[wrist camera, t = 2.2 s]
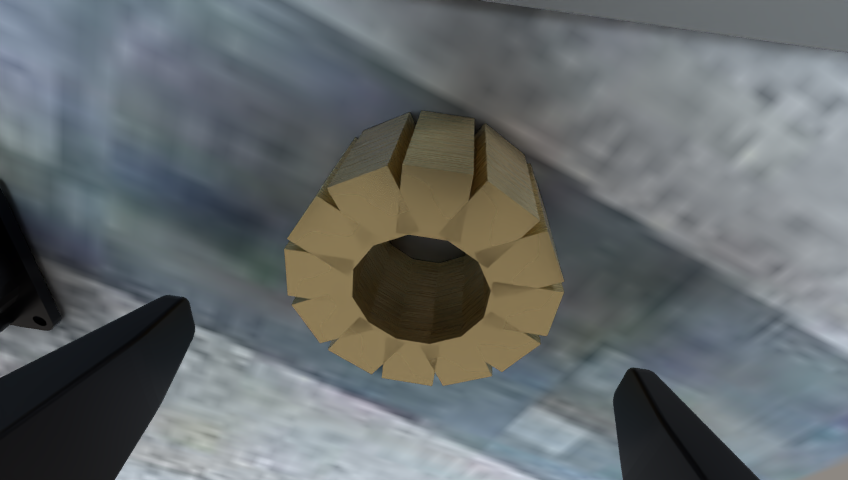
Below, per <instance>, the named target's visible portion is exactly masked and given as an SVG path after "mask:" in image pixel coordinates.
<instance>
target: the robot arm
mask: <svg viewBox="0 0 848 480" xmlns="http://www.w3.org/2000/svg"><path fill="white" fill-rule="evenodd" d="M60 321H61V315H60V313H59V311H58V309H57V307H56V305H55V303H54V301H53V298H52V296H51V294H50V292H49V290H48V288H47V286H46V284H45V281H44V279H43V277H42V275H41V273H40V271H39V269H38V267H37V264H36V262H35V260H34V258H33V256H32V254H31V252H30V249H29V247H28V245H27V243H26V241H25V239H24V237H23V235H22V232H21V230H20V228H19V226H18V224H17V222H16V220H15V218H14V215H13V213H12V211H11V209H10V207H9V205H8V203H7V201H6V198H5V196H4V194H3V192H2V190H1V189H0V332H1V331H3V330H4V329H5V328H6V327H8V326H9V325H14V326H20V327H26V328H32V329H39V330H51V329H53V328H54V327H55V326H56V325H57V324H58V323H60ZM194 333H195V324H194V320H193V316H192V311H191V307H190V303H189V301H188V300H187V299H186V298H184V297H179V296H173V295H165V296H162V297H160V298H158V299H156V300H154V301H152V302H150V303H148V304H146V305H144V306H142V307H140V308H138V309H136V310H134V311H132V312H130V313H128V314H126V315H124V316H122V317H120V318H118V319H116V320H114V321H112V322H110V323H108V324H106V325H104V326H102V327H100V328H98V329H96V330H94V331H92V332H90V333H88V334H86V335H84V336H83V337H81V338H79V339H77V340H75V341H73V342H71V343H69V344H67V345H65V346H63V347H61V348H59V349H57V350H55V351H53V352H51V353H49V354H47V355H45V356H43V357H41V358H39V359H37V360H35V361H33V362H31V363H29V364H27V365H25V366H23V367H21V368H19V369H17V370H15V371H13V372H11V373H9V374H7V375H5V376H3V377H1V378H0V480H115V479H116V477H117V475H118V474H119V472H120V470H121V469H122V467H123V466H124V464H125V462H126V461H127V459H128V457H129V456H130V454H131V453H132V451H133V449H134V448H135V446H136V444H137V443H138V441H139V440H140V438H141V436H142V435H143V433H144V431H145V430H146V428H147V427H148V425H149V423H150V422H151V420H152V418H153V417H154V415H155V413H156V412H157V410H158V408H159V407H160V405H161V403H162V401H163V399H164V397H165V395H166V393H167V391H168V389H169V387H170V385H171V383H172V381H173V379H174V377H175V374H176V372H177V370H178V368H179V366H180V364H181V362H182V360H183V358H184V356H185V354H186V352H187V349H188V347H189V345H190V343H191V341H192V339H193V337H194ZM613 406H614V414H615V422H616V430H617V438H618V447H619V455H620V463H621V470H622V477H623V480H760V479H759V478H758V477H757V476H756V475H755V474H754V473H753V472H752V471H751V470H750V469H749V468H748V467H747V466H746V465H745V464H744V463H743V462H742V461H741V460H740V459H739V458H738V457H737V456H736V455H735V454H734V453H733V452H732V451H731V450H730V449H729V448H728V447H727V446H726V445H725V444H724V443H723V442H722V441H721V440H720V439H719V438H718V437H717V436H716V435H715V434H714V433H713V432H712V431H711V430H710V429H709V428H708V427H707V426H706V425H705V424H704V423H703V422H702V420H701V419H700V418H699V417H698V416H697V415H696V414H695V413H694V412H693V411H692V410H691V409H690V408H689V407H688V406H687V405H686V404H685V403H684V402H683V401H682V400H681V399H680V398H679V397H678V396H677V395H676V394H675V393H674V392H673V391H672V390H671V389H670V388H669V387H668V386H667V385H666V384H665V383H664V382H663V381H662V380H661V379H660V378H659V377H658V376H657V375H656V374H655V373H654V372H652V371H650V370H646V369H640V368H630V369H628V370H627V372H626V373H625V375H624V377H623V379H622V381H621V382H620V384H619V386H618V388H617V389H616V391H615V394H614V398H613Z"/></svg>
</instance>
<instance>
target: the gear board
mask: <svg viewBox="0 0 848 480" xmlns="http://www.w3.org/2000/svg"><path fill="white" fill-rule="evenodd" d="M481 1H488V2H495V3H502V4H509V5H516V6H523V7H530V8H537V9H544V10H551V11H558V12H565V13H572V14H579V15H587V16H594V17H601V18H608V19H615V20H622V21H629V22H636V23H643V24H650V25H657V26H664V27H671V28H678V29H685V30H692V31H699V32H706V33H713V34H720V35H727V36H734V37H741V38H748V39H755V40H762V41H769V42H776V43H783V44H791V45H798V46H805V47H812V48H819V49H826V50H833V51H840V52H847V53H848V0H481Z"/></svg>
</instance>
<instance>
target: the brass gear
mask: <svg viewBox="0 0 848 480" xmlns="http://www.w3.org/2000/svg"><path fill="white" fill-rule="evenodd" d="M405 235H415V236H421V237H428V238H434V239H441V240H447V241H449V242H451V243H452V244H453V245H455V246H456V247H458V248H459V249H461V250H462V251H464V252H465V253H466V255H465V256H463V257H459V258H456V259H452V260H449V261H445V262H442V263H434V262H428V261H421V260H415V259H412V258H410V257H409V256H407V255H406V254H404V253H403V252H401V251H400V250H398V249H397V248H395V247H394V246H392V245H391V243H390V242H389V240H393V239H396V238H399V237H402V236H405ZM287 239H288V240H290V241H289V243H288V244H287V246H286V247H285V249H284V252H285V265H286V278H287V292H288V296H295V299H294V301H293V303H292V306H293V307H294V309H295V310H296V311H297V313H298V314H299V316H300V317H301V318H302V320H303V321H304V322H305V324H306V325H307V326H308V328H309V329H310V330H311V332H312V333H313V334H314V336H315V337H316V338H317V340H318V341H319V342H320V343H322V342H326V341H330V340H332V341H331V343H330V346H329V349H328V350H329V351H331V352H333V353H334V354H336V355H338V356H340V357H342V358H343V359H345V360H347V361H349V362H350V363H352V364H354V365H356V366H358V367H359V368H361V369H363V370H365V371H366V372H368V373H370V374H372V373H374V372H375V371H376V370H377V369H378V368H379V367H380V366H381V365H382V364H383V372H382V378H386V379H392V380H398V381H404V382H411V383H417V384H423V385H429V386H432V384H433V379H434V374H435V373H436V375H437V376H438V378H439V380H440V381H441V383H442V385H443V386H445V385H450V384H455V383H460V382H465V381H470V380H475V379H480V378H485V377H490V376H492V366H493V367H495V368H496V369H498V370H499V371H501V372H503V371H504V370H505V369H507V368H508V367H510V366H511V365H512V364H514V363H515V362H517V361H518V360H519V359H521V358H522V357H523V356H525V355H526V354H528V353H529V352H530V351H532V350H533V349H535V348H536V347H537V346H539V345H540V344H541V343H540V337H539V335H543V336H547V335H548V333H549V330H550V327H551V325H552V322H553V320H554V317H555V314H556V312H557V309H558V307H559V304H560V301H561V299H562V296H563V294H564V290H563V287H562V283H561V282H564V279H563V275H562V271H561V267H560V264H559V260H558V256H557V252H556V249H555V245H554V241H553V237H552V234H551V230H550V226H549V222H548V219H547V215H546V211H545V207H544V204H543V201H542V198H541V195H540V192H539V188H538V185H537V182H536V179H535V176H534V173H533V170H532V167H531V164H527V163H526V159H525V155H524V154H523V153H522V152H520V151H519V150H518V149H517V148H515V147H514V146H513V145H512V144H510V143H509V142H508V141H507V140H506V139H504V138H503V137H502V136H501V135H499V134H498V133H497V132H496V131H494V130H493V129H492V128H491V127H489V126H488V125H487V124H486V123H485V124H484V125H483V126H482V127H481V128H480V129H479V131H478V132H477V133H476V134H475V135H474V118H468V117H462V116H455V115H448V114H441V113H435V112H428V111H421V113H420V116H419V119H418V122H417V124H415V122H414V120H413V118H412V115H411V113H410V112H409V113H406V114H404V115H401V116H399V117H396V118H394V119H391V120H389V121H386V122H384V123H381V124H379V125H376V126H374V127H372V128H369V129H367V130H364V131H363V132H362V134H361V135H360V137H359V139H357V138H356V137H355V139H354V140H353V141H352V143H351V144H350V146H349V147H348V149H347V150H346V152H345V153H344V155H343V156H342V157H341V159H340V160H339V162H338V163H337V165H336V166H335V168H334V169H333V171H332V172H331V173H330V175H329V176H328V178H327V179H326V181H325V182H324V184H323V185H322V187H321V188H320V190H319V191H318V193H317V194H316V196H315V197H314V199H313V200H312V202H311V203H310V205H309V206H308V208H307V209H306V211H305V213H304V214H303V216H302V217H301V219H300V220H299V222H298V223H297V225H296V226H295V228H294V229H293V231H292V232H291V234H290V235H289V237H288V238H287Z"/></svg>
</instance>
